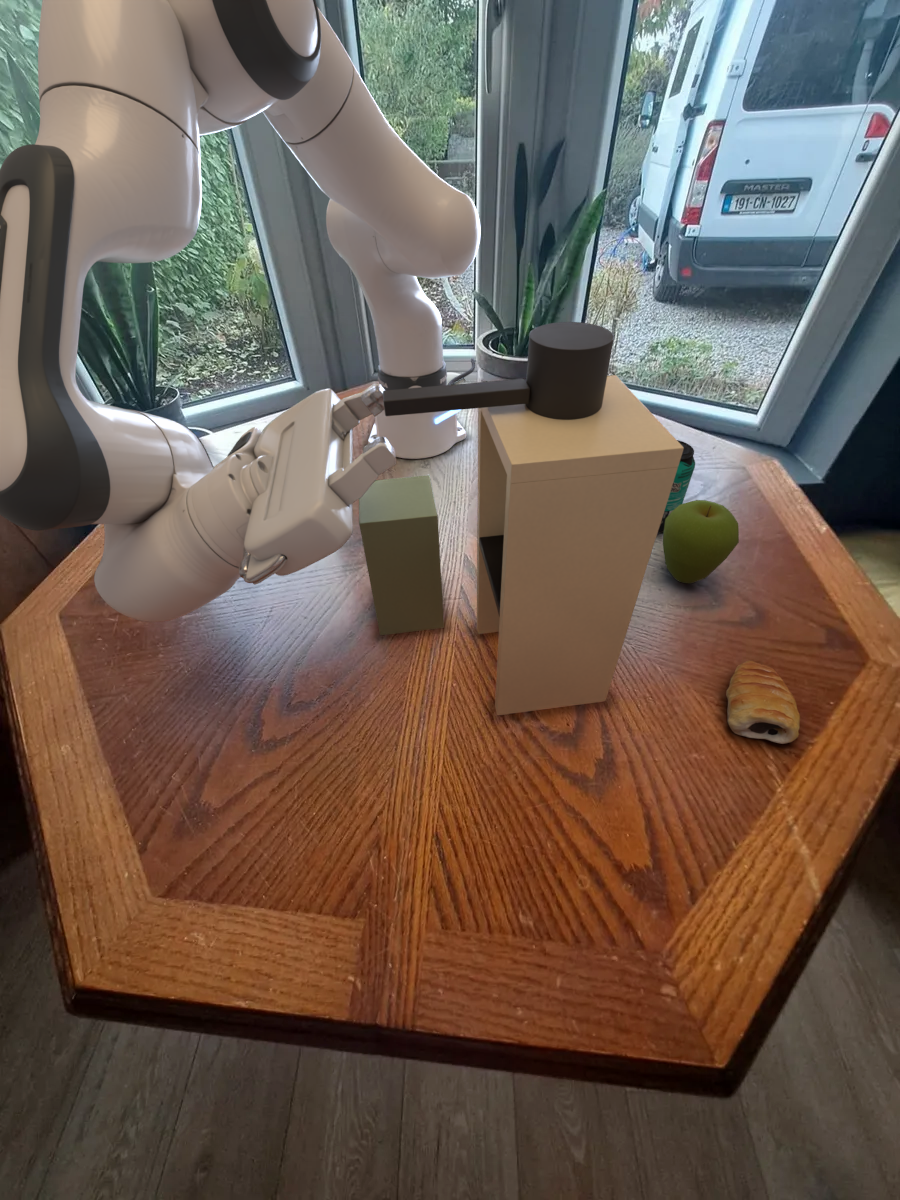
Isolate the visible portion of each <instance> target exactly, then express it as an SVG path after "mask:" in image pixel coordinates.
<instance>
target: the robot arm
mask: <svg viewBox="0 0 900 1200" xmlns="http://www.w3.org/2000/svg"><path fill="white" fill-rule="evenodd" d="M37 45H38V46H37V47H38V49H37V75H38V76H37V81H38V100H39V103H38V105H39V128H38V133H37V137H36V141H35V143H33V144H32V143H30V144H24V145H21V146H19V147H16V148H15V149H13V150H12V151H11V152H10V153H9V154H8V155H7V156H6V158H5V159H4V161H3V162H2V164H1V166H0V516H1V517H3V518H4V519H6V520H7V521H9V522H10V523H13V524H14V525H16V526H17V527H20V528H22V529H25V530H30V531H38V532H39V531H50V530H58V529H59V530H60V529H68V528H77V527H85V526H90V525H103V527H104V528H103V529H104V541H103V542H104V544H103V552H102V556H101V559H100V561H99V563H98V564H97V567H96V569H95V572H94V576H93V581H94V587H95V589H96V591H97V594H98V595H99V596H100V597H101V599H102V601H104V602H105V603H106V604H107V605H108V606H109V607H110V608H112V609H113V610H114V611H116V612H118V613H119V614H121V615H123V616H124V617H127V618H129V619H133V620H135V621H138V622H139V621H140V622H144V623H145V622H146V623H163V622H170V621H173V620H177V619H179V618H181V617H183V616H186V615H188V614H190V613H192V612H194V611H196V610H199V609H200V608H202V607H204V606H205V605H207V604H209V603H210V602H212V601H214V600H216V599H217V598H219V597H221V596H223V594H225V593H227V592H228V591H229V590H230V589H232V587H234V585H235V584H236V582H237V581H238V580H239V579H241V578H242V579H243V581H244V582H245V583H247V584H252V585H258V584H260V583H262V582H264V581H266V580H267V579H268V578H270V577H271V576H273V575H276V576H280V577H284V576H288V575H291V574H294V573H297V572H299V571H301V570H303V569H306V568H307V567H309V566H312V565H314V564H315V563H318V562H319V561H321V560H323V559H325V558H327V557H329V556H331V555H333V554H334V553H336V552H337V551H339V550H341V549H342V548H343V546H344V545H345V544H346V543H347V542H348V541H349V540H350V538H351V537H352V535H353V532H354V531H353V529H354V528H353V527H354V525H353V523H354V522H353V521H354V519H353V518H354V517H353V513H354V510H353V509H354V508H353V505H354V503H355V502H357V501H359V499H360V498H361V497H362V496H363V495H364V494H365V493H366V491H367V490H368V489H369V488H370V486H371V485H372V484H373V483H374V482H375V480H378V478H379V476H381V475H382V474H383V473H385V472H386V471H388V470H390V469H391V468H393V467H394V466H395V465H396V463H397V458H402V459H407V460H408V459H409V460H416V459H417V460H419V459H420V460H421V459H428V458H431V457H436V456H438V455H441V454H444V453H445V452H447V451H449V450H450V449H451V448H453V446H454V445H456V443H459V442H461V441H463V440H465V439H466V438H467V431H466V429H465V428H464V427H463V425H461V423H460V422H459V421H458V417H457V416H458V415H457V413H459V412H461V410H451V411H440V412H429V413H418V414H407V415H396V416H385V409H384V401H383V391H385V390H396V389H408V388H420V387H431V386H443V385H454V384H455V383H456V382H457V381H458V382H459V381H460V380H462V379H463V378H465V377H468V376H469V375H471V374H472V373H473V372H474V371H475V369H476V360H475V358H474V357H471V359H470V363H471V367H470V368H469V369H468V370H467V371H465V372H463V373H460V374H459V375H457V376H455V377H453V378H452V379H450V381H447V380H448V371H447V365H446V362H445V360H444V345H443V340H444V339H443V320H442V316H441V313H440V310H439V309H438V308H437V306H436V304H434V303H433V301H432V300H431V299H430V298H429V297H428V296H427V295H426V293H425V291H424V290H423V289H422V286H421V284H420V283H419V280H418V277H419V278H423V279H424V278H426V279H433V280H434V279H444V278H450V277H457V276H460V275H463V274H464V273H465V272H466V271H467V270H468V269H469V268H470V267H471V265H472V264H473V262H474V260H475V258H476V257H477V254H478V251H479V246H480V242H481V221H480V217H479V216H480V215H479V213H478V210H477V207H476V205H475V203H474V201H473V199H472V198H471V197H470V196H469V195H468V194H466V193H464V192H463V191H461V190H459V189H457V188H456V187H454V186H453V185H451V184H450V183H448V182H446V181H445V180H444V179H443V178H442V177H440V176H438V174H437V173H435V172H434V171H433V170H432V169H431V168H430V167H429V166H428V165H427V164H426V163H425V162H424V161H423V160H422V159H421V158H420V157H419V156H418V155H417V154H416V153H415V152H414V150H412V149H411V148H410V147H409V146H408V144H407V143H406V142H405V141H404V140H402V138H401V137H400V136H399V134H397V132H396V131H395V130H394V129H393V127H392V126H391V124H390V123H389V121H388V120H387V119H386V118H385V116H384V114H383V112H382V111H381V109H380V107H379V106H378V104H377V102H376V101H375V99H374V97H373V96H372V94H371V92H370V91H369V89H368V87H367V85H366V84H365V82H364V80H363V78H362V77H361V74H360V73H359V72H358V70H357V68H356V66H355V64H354V63H353V61H352V59H351V57H350V55H349V54H348V52H347V50H346V49H345V47H344V45H343V43H342V42H341V40H340V39H339V37H338V35H337V33H336V32H335V31H334V29H333V27H332V26H331V24H330V22H329V21H328V20H327V19H326V17H325V16H324V14H323V13H322V11H321V10H320V8H319V7H318V4H317V0H42V2H41V10H40V19H39V28H38V44H37ZM260 113H263V114H264V116H265V118H266V119H267V121H268V122H269V124H270V125H271V126H272V128H273V129H274V130H275V132H276V133H277V135H278V136H279V137H280V139H281V140H282V141H283V142H284V144H285V145H286V147H287V148H288V149H289V150H290V152H291V153H292V154H293V155H294V157H295V158H296V159H297V161H298V162H299V164H300V165H301V166H302V167H303V168H304V170H305V171H306V173H307V174H308V175H309V176H310V177H311V179H312V180H313V182H314V183H315V184H316V185H317V187H318V188H319V189H320V191H321V192H322V193H323V194H325V196H327V197H328V198H329V200H328V204H327V207H326V214H325V226H326V231H327V236H328V239H329V242H330V244H331V246H332V248H333V249H334V251H335V252H336V253H337V254H338V255H339V257H340V258H341V259H342V260H343V261H344V262H345V263H346V265H347V266H348V267H349V269H350V270H351V272H352V274H353V276H354V277H355V279H356V282H357V283H358V285H359V287H360V289H361V292H362V294H363V297H364V299H365V302H366V304H367V307H368V310H369V313H370V316H371V320H372V324H373V331H374V335H375V343H376V348H377V356H378V364H379V365H378V366H377V383H373V384H372V385H370V386H369V387H367V388H366V389H365V390H363V391H362V392H359V393H355V394H352V395H349V396H346V397H343V398H342V399H341V398H340V397H339V396H338V395H337V394H336V392H335V391H334V390H333V389H332V388H323V389H320V390H317V391H315V392H314V393H311V394H310V395H308V396H307V397H305V398H303V399H302V400H300V401H299V402H297V403H295V404H294V405H292V406H291V407H289V408H288V409H286V410H285V411H283V412H282V413H280V414H279V415H278V416H276V417H275V418H274V419H272V420H271V421H270V422H269V423H268V424H267V425H266V426H265V427H264V428H263V429H262V431H261V430H260V429H259V427H257V426H254V427H251V428H250V429H248V430H247V431H246V432H244V433H243V434H242V435H241V436H240V437H239V438H238V440H237V441H236V443H235V444H234V445H233V447H232V448H231V450H230V451H229V453H228V454H227V455H226V457H225V458H224V459H223V460H221V461H220V462H219V463H217V464H216V465H213V462H212V460H211V457H210V455H209V453H208V451H207V449H206V447H205V445H204V443H203V442H202V440H201V439H200V438H199V436H198V435H197V434H196V433H195V432H193V430H191V429H190V428H189V427H187V426H186V425H184V424H182V423H181V422H179V421H175V420H172V419H169V418H166V417H163V416H159V415H155V414H151V413H147V412H144V411H140V410H135V409H130V408H122V407H118V406H114V405H111V404H110V405H109V404H106V403H103V402H98V401H93V400H89V399H87V398H86V397H85V395H84V394H83V393H82V392H81V390H80V387H79V385H78V382H77V378H76V371H77V360H78V359H77V358H78V349H79V340H80V339H79V338H80V329H81V316H82V307H83V306H82V305H83V294H84V286H85V281H86V278H87V275H88V272H89V271H90V270H91V268H92V266H94V264H96V263H97V262H99V263H112V264H113V263H114V264H146V263H156V262H161V261H164V260H167V259H169V258H171V257H174V256H175V255H178V253H180V252H182V251H183V250H184V249H185V248H186V247H187V246H188V245H189V244H190V243H191V242H192V240H193V239H194V238H195V236H196V235H197V231H198V228H199V224H200V219H201V213H202V201H203V200H202V198H203V187H202V185H203V184H202V165H201V164H202V163H201V161H202V159H201V157H202V156H201V142H200V141H201V140H200V139H201V138H202V137H203V136H207V135H211V134H215V133H219V132H223V131H226V130H229V129H233V128H235V127H238V126H241V125H243V124H245V123H246V122H247V121H248V120H249V119H251V118H252V117H255V116H256V115H258V114H260ZM372 415H373V417H374V423H373V426H372V428H371V432H370V434H369V436H368V440H367V444H365V445H364V446H362V453H361V454H359V455H358V457H356V458H355V459H354V457H353V455H354V454H353V452H354V449H353V448H354V447H353V445H354V443H353V440H354V439H353V438H354V437H353V435H354V434H353V433H354V431H353V430H354V428H356V427H357V426H359V424H361V423H360V421H362V420H364V419H366V418H368V417H370V416H372ZM353 459H354V460H353Z"/></svg>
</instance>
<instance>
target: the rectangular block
mask: <svg viewBox="0 0 900 1200" xmlns="http://www.w3.org/2000/svg"><path fill="white" fill-rule="evenodd" d="M438 515H439V514H438V509H437V505H436V500H435V496H434V490H433V485H432V480H431V475H430V474H427V475H415V476H405V477H404V476H403V477H394V478H385V479H384V478H383V479H376V480H375V482H374V483H373V484H372V485H371V486H370V488H369V489H368V490H367V491H366V493H365V494H364V495H363V496H362V497H361V498H360V499H358V525H359V530H360V536H361V541H362V547H363V550H364V551H363V552H364V557H365V562H366V563H365V564H366V568H367V573H368V578H369V584H370V589H371V593H372V600H373V605H374V610H375V615H376V623H377V626H378V627H377V628H378V632H379V636H389V635H397V634H405V633H413V632H421V631H430V630H437V629H445V620H444V619H445V618H444V604H443V603H444V602H443V601H444V600H443V584H442V582H443V581H442V568H441V567H442V565H441V549H440V548H441V547H440V532H439V529H440V528H439V516H438Z"/></svg>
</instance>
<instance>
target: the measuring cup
mask: <svg viewBox="0 0 900 1200" xmlns="http://www.w3.org/2000/svg"><path fill="white" fill-rule="evenodd" d="M614 339H615V335H614V334H613V332H612V331H611V330H609V329H608V328H606V327H603V326H601V325H598V324H593V323H587V322H579V321H559V322H551V323H546V324H543V325H540V326H539V325H538V326H537V327H535V328H533V329H532V330H530V332H529V334H528V346H527V347H528V349H527V363H526V377H525V378H526V379H525V378H515V379H503V380H502V379H501V380H490V381H489V380H488V381H480V382H469V383H468V382H467V383H453V384H452V385H443V386H431V387H420V388H408V389H396V390H385V391H383V401H384V409H385V416H396V415H407V414H418V413H429V412H440V411H451V410H460V411H463V410H472V409H473V410H474V409H478V408H485V407H496V406H507V405H518V404H525V405H526V407H527V408H528V409H529V410H530V411H532V412H533V413H535V414H538V415H540V416H543V417H547V418H552V419H561V420H572V419H580V418H585V417H589V416H591V415H593V414H595V413H597V412H598V411H599V410H600V409H601V407H602V403H603V397H604V391H605V386H606V380H607V376H608V374H609V368H610V363H611V356H612V352H613V346H614Z"/></svg>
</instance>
